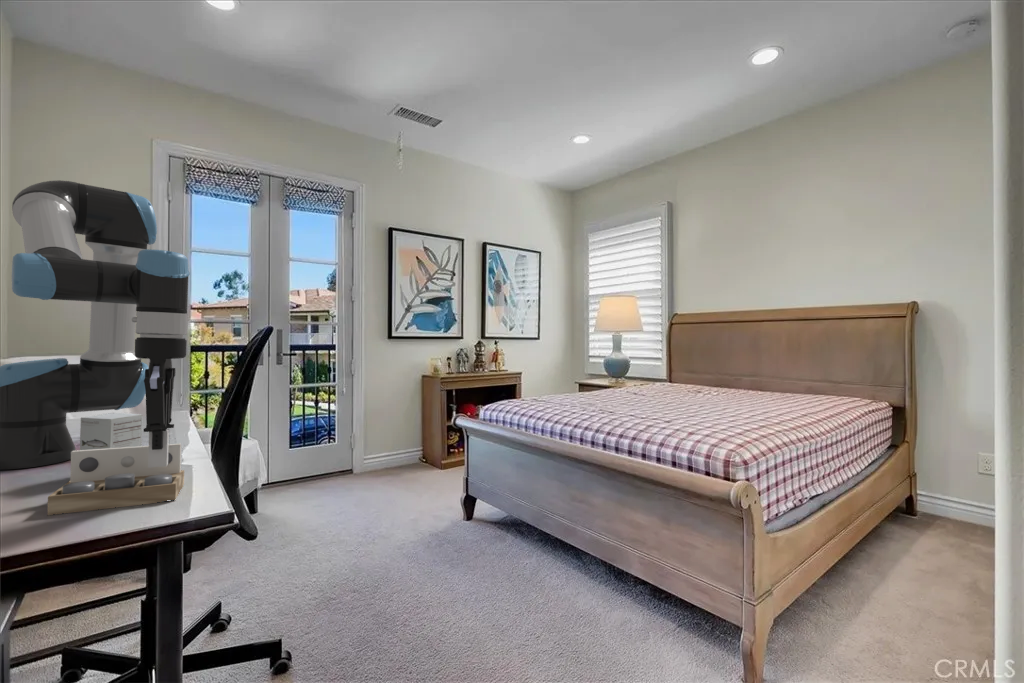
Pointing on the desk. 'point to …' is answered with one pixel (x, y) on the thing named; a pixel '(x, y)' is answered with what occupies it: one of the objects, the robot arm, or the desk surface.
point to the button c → (158, 480)
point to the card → (120, 463)
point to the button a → (79, 487)
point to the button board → (114, 496)
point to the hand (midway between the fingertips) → (158, 465)
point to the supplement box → (111, 431)
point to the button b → (119, 481)
